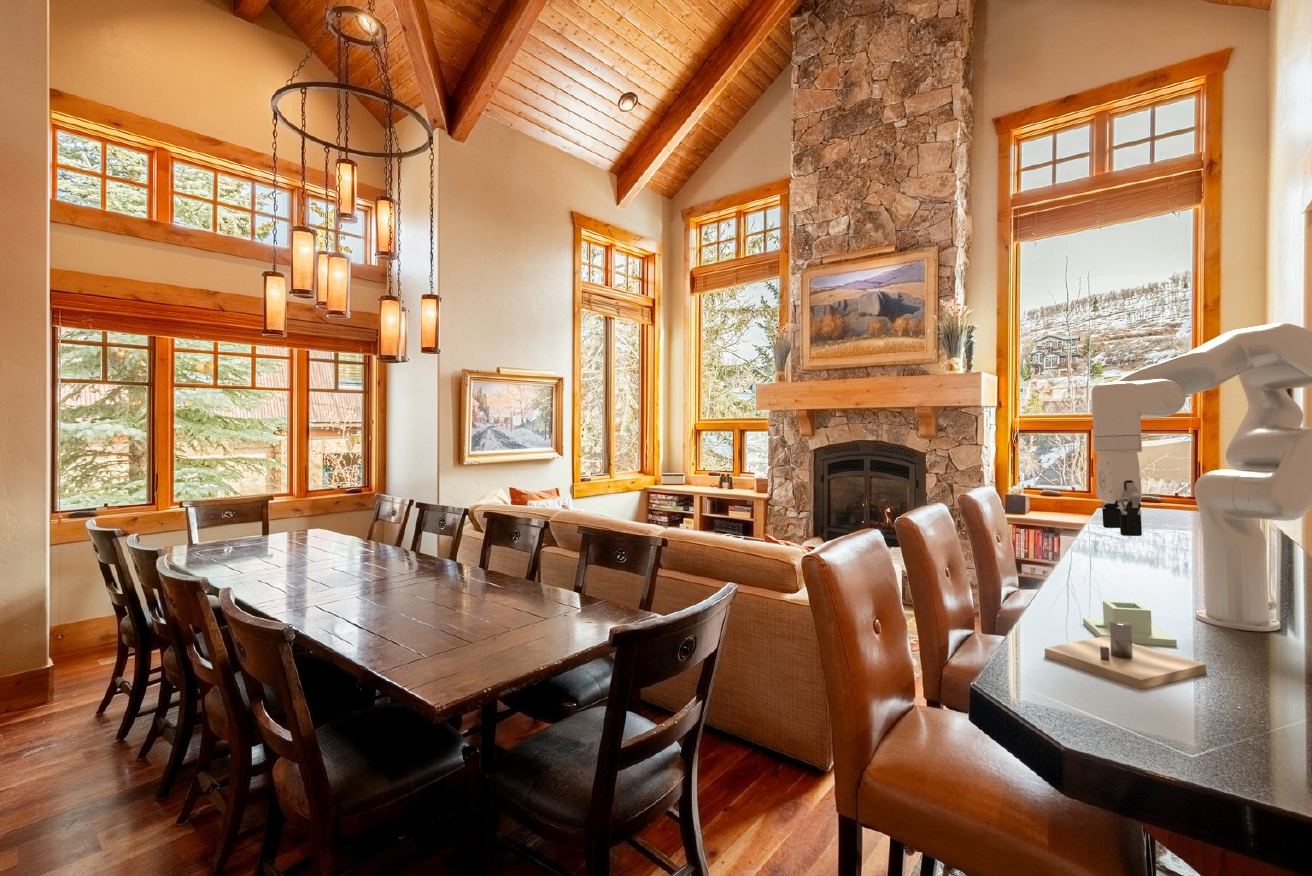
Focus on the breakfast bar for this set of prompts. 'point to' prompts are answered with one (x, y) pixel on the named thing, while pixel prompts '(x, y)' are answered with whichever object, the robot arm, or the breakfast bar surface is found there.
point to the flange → (1136, 617)
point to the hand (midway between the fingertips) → (1121, 531)
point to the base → (1126, 663)
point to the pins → (1119, 641)
